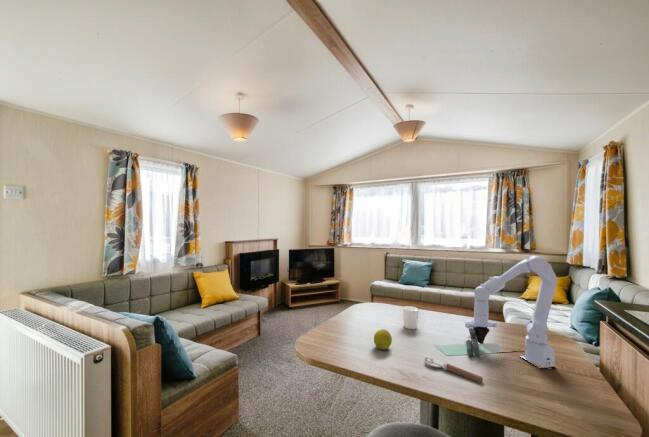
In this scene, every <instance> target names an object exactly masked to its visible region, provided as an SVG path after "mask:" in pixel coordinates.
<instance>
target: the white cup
mask: <svg viewBox="0 0 649 437" xmlns="http://www.w3.org/2000/svg"><path fill="white" fill-rule="evenodd" d="M402 311H403V312H402V313H403V314H402V315H403V326H404V327H405V328H406V329H409V330H417V328H418V321H419V320H418V319H419V308H418V307H415V306H411V305H409V306H408V305H406V306H405V305H404V306H403V308H402Z"/></svg>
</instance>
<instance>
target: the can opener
mask: <svg viewBox="0 0 649 437" xmlns="http://www.w3.org/2000/svg"><path fill="white" fill-rule="evenodd" d="M468 332H469V334H467V335H466V336H465V342H466V343H465V344H467V353H468V355H467V356H469V357H472V356H473V355H474V356H475V357H478V356H480V354H479V347H478V344H479V342H478V340H477V336H476V333H475V331H474V329H473V328H468ZM472 344H473V350H472ZM473 351H474V354H473Z"/></svg>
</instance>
